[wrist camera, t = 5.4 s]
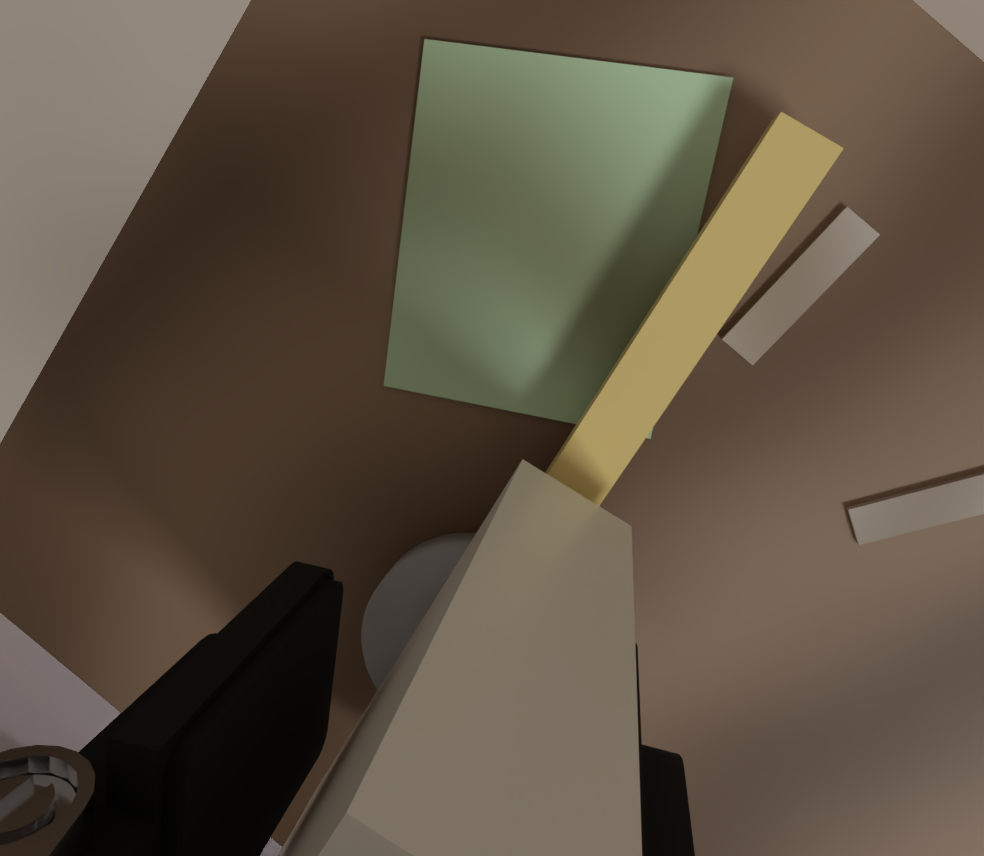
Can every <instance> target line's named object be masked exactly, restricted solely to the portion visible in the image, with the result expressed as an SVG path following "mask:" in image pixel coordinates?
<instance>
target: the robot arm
mask: <svg viewBox="0 0 984 856" xmlns="http://www.w3.org/2000/svg"><path fill="white" fill-rule="evenodd" d="M342 599H343V583H342V582H340V581H336V580H334V574H333V571H332V570H331V569H328V568H323V567H319V566H315V565H311V564H307V563H303V562H299V561H295V562H293V563H292V564H291V565H290V566H288V567H287V568H286V569H285V570H284V571H283V572H282V573H281V574H280V575H279V576H278V577H277V578H276V579H275V580H274V581H273V582H271V583H270V584H269V585H268V586H267V587H266V588H265V589H264V590H263V591H262V592H261V593H260V594H259V595H258V596H257V597H256V598H254V599H253V600H252V601H251V602H250V603H249V604H248V605H247V606H246V607H245V608H244V609H243V610H242V611H241V612H240V613H238V614H237V615H236V616H235V617H234V618H233V619H232V620H231V621H230V622H229V623H228V624H227V625H226V626H225V627H224V628H223V629H221V630H220V631H219V632H218V633H213V634H209V635H207V636H206V637H204V638H203V639H201V640H200V641H199V642H198V643H197V644H196V645H195V646H194V647H193V648H192V649H190V650H189V651H188V652H187V653H186V654H185V655H184V656H183V657H182V658H181V659H180V660H179V661H177V662H176V663H175V664H174V665H173V666H172V667H171V668H170V669H169V670H168V671H167V672H165V673H164V674H163V675H162V676H161V677H160V678H159V679H158V680H157V681H156V682H155V683H153V684H152V685H151V686H150V687H149V688H148V689H147V690H146V691H145V692H144V693H143V694H142V695H140V696H139V697H138V698H137V699H136V700H135V701H134V702H133V703H132V704H131V705H130V706H128V707H127V708H126V709H125V710H124V711H123V712H122V713H121V714H120V715H119V716H118V717H116V718H115V719H114V720H113V721H112V722H111V723H110V724H109V725H108V726H107V727H106V728H105V729H103V730H102V731H101V732H100V733H99V734H98V735H97V736H96V737H95V738H94V739H93V740H91V741H90V742H89V743H88V744H87V745H86V746H85V747H84V748H83V749H82V750H81V751H80V752H77V751H73V750H70V749H67V748H63V747H60V746H45V745H34V746H28V747H21V748H15V749H10V750H7V751H4V752H1V753H0V856H260V854H261V852H262V851H263V849H264V847H265V846H266V844H267V842H268V841H269V839H270V837H271V836H272V834H273V832H274V831H275V829H276V827H277V826H278V824H279V822H280V821H281V819H282V817H283V816H284V814H285V812H286V811H287V809H288V807H289V806H290V804H291V802H292V801H293V799H294V797H295V796H296V794H297V792H298V791H299V789H300V787H301V786H302V784H303V782H304V781H305V779H306V777H307V776H308V774H309V772H310V771H311V769H312V767H313V766H314V764H315V762H316V761H317V759H318V757H319V755H320V753H321V751H322V749H323V746H324V743H325V740H326V736H327V730H328V722H329V713H330V705H331V696H332V687H333V678H334V670H335V661H336V652H337V643H338V634H339V626H340V617H341V608H342ZM635 647H636V679H637V710H638V741H639V773H640V804H641V836H642V856H695V852H694V844H693V835H692V827H691V819H690V811H689V803H688V795H687V786H686V778H685V770H684V764H683V759H682V757H681V756H680V754H677V753H673V752H669V751H665V750H661V749H658V748H654V747H650V746H646V745H642V739H641V715H640V691H639V667H638V647H637V644H636V643H635Z"/></svg>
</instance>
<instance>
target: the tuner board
mask: <svg viewBox="0 0 984 856" xmlns="http://www.w3.org/2000/svg"><path fill="white" fill-rule="evenodd" d="M780 112H783V113H785V114H786V115H788V116H790V117H791V118H793V119H795V120H797V121H798V122H800V123H802V124H803V125H805V126H807V127H808V128H810V129H812V130H814V131H815V132H817V133H819V134H820V135H822V136H824V137H826V138H827V139H829V140H831V141H832V142H834V143H836V144H837V145H839V146H841V147H843V148H844V149H843V150H842V152H841V153H840V155H839V156H838V158H837V159H836V161H835V162H834V164H833V165H832V166H831V168H830V169H829V171H828V172H827V174H826V175H825V177H824V178H823V180H822V181H821V183H820V184H819V185H818V187H817V188H816V190H815V191H814V193H813V194H812V196H811V197H810V199H809V200H808V202H807V203H806V204H805V206H804V207H803V209H802V210H801V212H800V213H799V215H798V216H797V218H796V219H795V221H794V222H793V223H792V225H791V226H790V228H789V229H788V231H787V232H786V234H785V235H784V237H783V238H782V240H781V241H780V243H779V244H778V245H777V247H776V248H775V250H774V251H773V253H772V254H771V256H770V257H769V259H768V260H767V262H766V263H765V264H764V266H763V267H762V269H761V270H760V272H759V273H758V275H757V276H756V278H755V279H754V281H753V282H752V283H751V285H750V286H749V288H748V289H747V291H746V292H745V294H744V295H743V297H742V298H741V300H740V301H739V302H738V304H737V305H736V307H735V308H734V310H733V311H732V313H731V314H730V316H729V317H728V319H727V320H726V321H725V323H724V324H723V326H722V327H721V329H720V330H719V332H718V333H717V335H716V336H715V338H714V339H713V340H712V342H711V343H710V345H709V346H708V348H707V349H706V351H705V352H704V354H703V355H702V357H701V358H700V359H699V361H698V362H697V364H696V365H695V367H694V368H693V370H692V371H691V373H690V374H689V376H688V377H687V378H686V380H685V381H684V383H683V384H682V386H681V387H680V389H679V390H678V392H677V393H676V395H675V396H674V397H673V399H672V400H671V402H670V403H669V405H668V406H667V408H666V409H665V411H664V412H663V414H662V415H661V416H660V418H659V419H658V421H657V422H656V424H655V425H654V427H653V428H652V430H651V431H650V433H649V434H648V436H647V437H646V438H645V440H644V441H643V443H642V444H641V446H640V447H639V449H638V450H637V452H636V453H635V455H634V456H633V457H632V459H631V460H630V462H629V463H628V465H627V466H626V468H625V469H624V471H623V472H622V474H621V475H620V476H619V478H618V479H617V481H616V482H615V484H614V485H613V487H612V488H611V490H610V491H609V493H608V494H607V495H606V497H605V498H604V500H603V501H602V503H601V504H600V507H601V508H603V509H605V510H606V511H608V512H610V513H611V514H613V515H614V516H616V517H618V518H619V519H621V520H623V521H624V522H626V523H627V524H629V525H631V526H632V553H633V585H634V616H635V643H636V644H637V647H638V667H639V691H640V715H641V739H642V745H646V746H650V747H654V748H658V749H661V750H665V751H669V752H673V753H677V754H680V756H681V757H682V759H683V764H684V770H685V778H686V786H687V795H688V803H689V811H690V819H691V827H692V835H693V844H694V852H695V856H984V62H983V61H982V60H981V59H979V58H978V57H977V56H976V55H975V54H974V53H973V52H971V51H970V50H969V49H968V48H967V47H966V46H964V45H963V44H962V43H961V42H960V41H959V40H958V39H956V38H955V37H954V36H953V35H952V34H951V33H950V32H948V31H947V30H946V29H945V28H944V27H943V26H942V25H940V24H939V23H938V22H937V21H936V20H935V19H933V18H932V17H931V16H930V15H929V14H928V13H926V12H925V11H924V10H923V9H922V8H921V7H920V6H919V5H917V4H916V3H915V2H914V1H913V0H251V2H250V4H249V5H248V7H247V9H246V11H245V13H244V14H243V16H242V18H241V20H240V21H239V23H238V25H237V27H236V28H235V30H234V32H233V34H232V35H231V37H230V39H229V41H228V42H227V44H226V46H225V48H224V50H223V51H222V53H221V55H220V57H219V59H218V60H217V62H216V64H215V65H214V68H213V69H212V71H211V73H210V74H209V76H208V78H207V80H206V81H205V83H204V85H203V87H202V89H201V90H200V92H199V94H198V96H197V97H196V99H195V101H194V103H193V104H192V106H191V108H190V110H189V111H188V113H187V115H186V117H185V119H184V120H183V122H182V124H181V125H180V127H179V129H178V131H177V133H176V135H175V136H174V138H173V140H172V141H171V143H170V145H169V147H168V148H167V150H166V152H165V154H164V156H163V157H162V159H161V161H160V163H159V164H158V166H157V168H156V170H155V172H154V173H153V175H152V177H151V179H150V180H149V182H148V184H147V186H146V187H145V189H144V191H143V193H142V194H141V196H140V198H139V200H138V201H137V203H136V205H135V207H134V209H133V210H132V212H131V214H130V216H129V217H128V219H127V221H126V223H125V224H124V226H123V228H122V230H121V232H120V234H119V235H118V237H117V239H116V240H115V242H114V244H113V246H112V248H111V249H110V251H109V253H108V255H107V256H106V258H105V260H104V262H103V263H102V265H101V267H100V269H99V270H98V272H97V274H96V276H95V277H94V279H93V281H92V283H91V284H90V286H89V288H88V290H87V292H86V293H85V295H84V297H83V299H82V300H81V302H80V304H79V306H78V307H77V309H76V311H75V313H74V315H73V316H72V318H71V320H70V322H69V323H68V325H67V327H66V329H65V331H64V332H63V334H62V336H61V338H60V339H59V341H58V343H57V345H56V346H55V348H54V350H53V352H52V353H51V355H50V357H49V359H48V360H47V362H46V364H45V366H44V368H43V369H42V371H41V373H40V375H39V377H38V378H37V380H36V382H35V383H34V385H33V387H32V389H31V390H30V392H29V394H28V396H27V398H26V399H25V401H24V403H23V405H22V406H21V408H20V410H19V412H18V413H17V415H16V417H15V419H14V421H13V423H12V424H11V426H10V428H9V429H8V431H7V433H6V435H5V436H4V438H3V440H2V442H1V444H0V613H2V614H3V615H4V616H5V617H6V618H8V619H9V620H10V621H11V622H12V623H14V624H15V625H16V626H17V627H18V628H20V629H21V630H22V631H23V632H25V633H26V634H27V635H28V636H29V637H31V638H32V639H33V640H34V641H35V642H37V643H38V644H39V645H40V646H41V647H43V648H44V649H45V650H46V651H47V652H49V653H50V654H51V655H52V656H53V657H55V658H56V659H57V660H58V661H59V662H61V663H62V664H63V665H64V666H65V667H67V668H68V669H69V670H70V671H71V672H73V673H74V674H75V675H76V676H78V677H79V678H80V679H81V680H82V681H84V682H85V683H86V684H87V685H88V686H90V687H91V688H92V689H93V690H94V691H96V692H97V693H98V694H99V695H100V696H102V697H103V698H104V699H105V700H106V701H108V702H109V703H110V704H111V705H112V706H114V707H115V708H116V709H117V710H118V711H120V712H121V713H122V712H123V711H124V710H125V709H126V708H127V707H128V706H130V705H131V704H132V703H133V702H134V701H135V700H136V699H137V698H138V697H139V696H140V695H142V694H143V693H144V692H145V691H146V690H147V689H148V688H149V687H150V686H151V685H152V684H153V683H155V682H156V681H157V680H158V679H159V678H160V677H161V676H162V675H163V674H164V673H165V672H167V671H168V670H169V669H170V668H171V667H172V666H173V665H174V664H175V663H176V662H177V661H179V660H180V659H181V658H182V657H183V656H184V655H185V654H186V653H187V652H188V651H189V650H190V649H192V648H193V647H194V646H195V645H196V644H197V643H198V642H199V641H200V640H201V639H203V638H204V637H206V636H207V635H209V634H213V633H218V632H219V631H220V630H221V629H223V628H224V627H225V626H226V625H227V624H228V623H229V622H230V621H231V620H232V619H233V618H234V617H235V616H236V615H237V614H238V613H240V612H241V611H242V610H243V609H244V608H245V607H246V606H247V605H248V604H249V603H250V602H251V601H252V600H253V599H254V598H256V597H257V596H258V595H259V594H260V593H261V592H262V591H263V590H264V589H265V588H266V587H267V586H268V585H269V584H270V583H271V582H273V581H274V580H275V579H276V578H277V577H278V576H279V575H280V574H281V573H282V572H283V571H284V570H285V569H286V568H287V567H288V566H290V565H291V564H292V563H293V562H295V561H299V562H303V563H307V564H311V565H315V566H319V567H323V568H328V569H331V570H332V571H333V574H334V580H336V581H340V582H342V583H343V599H342V608H341V617H340V626H339V634H338V643H337V652H336V661H335V670H334V678H333V687H332V696H331V705H330V713H329V722H328V730H327V736H326V740H325V743H324V746H323V749H322V751H321V753H320V755H319V757H318V759H317V761H316V762H315V764H314V766H313V767H312V769H311V771H310V772H309V774H308V776H307V777H306V779H305V781H304V782H303V784H302V786H301V787H300V789H299V791H298V792H297V794H296V796H295V797H294V799H293V801H292V802H291V804H290V806H289V807H288V809H287V811H286V812H285V814H284V816H283V817H282V819H281V821H280V822H279V824H278V826H277V827H276V829H275V831H274V832H273V834H272V836H271V838H273V839H274V840H275V841H276V842H277V843H279V844H280V845H281V846H282V847H283V846H284V844H285V842H286V841H287V839H288V837H289V835H290V834H291V832H292V830H293V829H294V827H295V825H296V823H297V822H298V820H299V818H300V816H301V815H302V813H303V811H304V809H305V808H306V806H307V804H308V803H309V801H310V799H311V797H312V796H313V794H314V792H315V790H316V789H317V787H318V785H319V784H320V782H321V781H322V779H323V777H324V776H325V774H326V773H327V771H328V769H329V768H330V766H331V765H332V763H333V761H334V760H335V758H336V757H337V755H338V753H339V752H340V750H341V749H342V747H343V745H344V744H345V742H346V741H347V739H348V737H349V736H350V734H351V733H352V731H353V729H354V728H355V726H356V725H357V723H358V721H359V720H360V718H361V717H362V715H363V713H364V712H365V710H366V709H367V707H368V705H369V704H370V702H371V701H372V699H373V697H374V696H375V694H376V693H377V691H378V690H377V689H376V687H375V685H374V683H373V681H372V679H371V677H370V675H369V672H368V670H367V667H366V664H365V660H364V656H363V651H362V643H361V630H362V623H363V617H364V613H365V610H366V607H367V604H368V602H369V600H370V598H371V596H372V594H373V592H374V591H375V590H376V588H377V587H378V585H379V584H380V582H381V581H382V580H383V578H384V577H385V576H386V574H387V573H388V572H389V570H390V569H391V568H392V566H393V565H394V564H395V563H396V562H397V561H398V560H399V559H400V558H401V556H403V555H404V554H405V553H406V552H408V551H409V550H410V549H412V548H413V547H415V546H417V545H418V544H420V543H422V542H424V541H427V540H429V539H432V538H434V537H438V536H442V535H446V534H453V533H477V531H478V530H479V528H480V526H481V525H482V523H483V522H484V520H485V518H486V517H487V515H488V514H489V512H490V510H491V509H492V507H493V506H494V504H495V502H496V501H497V499H498V498H499V496H500V494H501V493H502V491H503V490H504V488H505V486H506V485H507V483H508V482H509V480H510V478H511V477H512V475H513V474H514V472H515V470H516V469H517V467H518V466H519V464H520V462H521V461H522V459H523V460H525V461H526V462H528V463H530V464H531V465H533V466H535V467H536V468H538V469H539V470H541V471H543V472H544V473H545V472H546V471H547V469H548V468H549V466H550V464H551V463H552V461H553V460H554V458H555V457H556V455H557V454H558V452H559V450H560V449H561V447H562V446H563V444H564V443H565V441H566V440H567V438H568V436H569V435H570V433H571V432H572V430H573V429H574V427H575V426H576V424H577V422H578V421H579V419H580V418H581V416H582V415H583V413H584V412H585V410H586V408H587V407H588V405H589V404H590V402H591V401H592V399H593V398H594V396H595V394H596V393H597V391H598V390H599V388H600V387H601V385H602V384H603V382H604V380H605V379H606V377H607V376H608V374H609V373H610V371H611V370H612V368H613V366H614V365H615V363H616V362H617V360H618V359H619V357H620V355H621V354H622V352H623V351H624V349H625V348H626V346H627V345H628V343H629V341H630V340H631V338H632V337H633V335H634V334H635V332H636V331H637V329H638V327H639V326H640V324H641V323H642V321H643V320H644V318H645V317H646V315H647V313H648V312H649V310H650V309H651V307H652V306H653V304H654V303H655V301H656V299H657V298H658V296H659V295H660V293H661V292H662V290H663V289H664V287H665V285H666V284H667V282H668V281H669V279H670V278H671V276H672V275H673V273H674V271H675V270H676V268H677V267H678V265H679V264H680V262H681V261H682V259H683V257H684V256H685V254H686V253H687V251H688V250H689V248H690V247H691V245H692V243H693V242H694V240H695V239H696V237H697V236H698V234H699V233H700V231H701V229H702V228H703V226H704V225H705V223H706V222H707V220H708V219H709V217H710V215H711V214H712V212H713V211H714V209H715V208H716V206H717V205H718V203H719V201H720V200H721V198H722V197H723V195H724V194H725V192H726V190H727V189H728V187H729V186H730V184H731V183H732V181H733V180H734V178H735V176H736V175H737V173H738V172H739V170H740V169H741V167H742V166H743V164H744V162H745V161H746V159H747V158H748V156H749V155H750V153H751V152H752V150H753V148H754V147H755V145H756V144H757V142H758V141H759V139H760V138H761V136H762V134H763V133H764V131H765V130H766V128H767V127H768V125H769V124H770V122H771V121H772V120H773V119H774V118H775V117H776V116H777V115H778V114H779V113H780Z"/></svg>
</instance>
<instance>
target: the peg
mask: <svg viewBox="0 0 984 856" xmlns="http://www.w3.org/2000/svg"><path fill="white" fill-rule="evenodd" d="M843 149H844V148H843V147H841V146H839V145H837V144H836V143H834V142H832V141H831V140H829V139H827V138H826V137H824V136H822V135H820V134H819V133H817V132H815V131H814V130H812V129H810V128H808V127H807V126H805V125H803V124H802V123H800V122H798V121H797V120H795V119H793V118H791V117H790V116H788V115H786V114H785V113H783V112H780V113H779V114H778V115H777V116H776V117H775V118H774V119H773V120H772V121H771V122H770V124H769V125H768V127H767V128H766V130H765V131H764V133H763V134H762V136H761V138H760V139H759V141H758V142H757V144H756V145H755V147H754V148H753V150H752V152H751V153H750V155H749V156H748V158H747V159H746V161H745V162H744V164H743V166H742V167H741V169H740V170H739V172H738V173H737V175H736V176H735V178H734V180H733V181H732V183H731V184H730V186H729V187H728V189H727V190H726V192H725V194H724V195H723V197H722V198H721V200H720V201H719V203H718V205H717V206H716V208H715V209H714V211H713V212H712V214H711V215H710V217H709V219H708V220H707V222H706V223H705V225H704V226H703V228H702V229H701V231H700V233H699V234H698V236H697V237H696V239H695V240H694V242H693V243H692V245H691V247H690V248H689V250H688V251H687V253H686V254H685V256H684V257H683V259H682V261H681V262H680V264H679V265H678V267H677V268H676V270H675V271H674V273H673V275H672V276H671V278H670V279H669V281H668V282H667V284H666V285H665V287H664V289H663V290H662V292H661V293H660V295H659V296H658V298H657V299H656V301H655V303H654V304H653V306H652V307H651V309H650V310H649V312H648V313H647V315H646V317H645V318H644V320H643V321H642V323H641V324H640V326H639V327H638V329H637V331H636V332H635V334H634V335H633V337H632V338H631V340H630V341H629V343H628V345H627V346H626V348H625V349H624V351H623V352H622V354H621V355H620V357H619V359H618V360H617V362H616V363H615V365H614V366H613V368H612V370H611V371H610V373H609V374H608V376H607V377H606V379H605V380H604V382H603V384H602V385H601V387H600V388H599V390H598V391H597V393H596V394H595V396H594V398H593V399H592V401H591V402H590V404H589V405H588V407H587V408H586V410H585V412H584V413H583V415H582V416H581V418H580V419H579V421H578V422H577V424H576V426H575V427H574V429H573V430H572V432H571V433H570V435H569V436H568V438H567V440H566V441H565V443H564V444H563V446H562V447H561V449H560V450H559V452H558V454H557V455H556V457H555V458H554V460H553V461H552V463H551V464H550V466H549V468H548V469H547V471H546V472H545V473H544V472H543V471H541V470H539V469H538V468H536V467H535V466H533V465H531V464H530V463H528V462H526V461H525V460H523V459H522V461H521V462H520V464H519V466H518V467H517V469H516V470H515V472H514V474H513V475H512V477H511V478H510V480H509V482H508V483H507V485H506V486H505V488H504V490H503V491H502V493H501V494H500V496H499V498H498V499H497V501H496V502H495V504H494V506H493V507H492V509H491V510H490V512H489V514H488V515H487V517H486V518H485V520H484V522H483V523H482V525H481V526H480V528H479V530H478V531H477V533H453V534H446V535H442V536H438V537H434V538H432V539H429V540H427V541H424V542H422V543H420V544H418V545H417V546H415V547H413V548H412V549H410V550H409V551H408V552H406V553H405V554H404V555H403V556H401V558H400V559H399V560H398V561H397V562H396V563H395V564H394V565H393V566H392V568H391V569H390V570H389V572H388V573H387V574H386V576H385V577H384V578H383V580H382V581H381V582H380V584H379V585H378V587H377V588H376V590H375V591H374V592H373V594H372V596H371V598H370V600H369V602H368V604H367V607H366V610H365V613H364V617H363V623H362V630H361V643H362V651H363V656H364V660H365V664H366V667H367V670H368V672H369V675H370V677H371V679H372V681H373V683H374V685H375V687H376V689H377V690H378V691H377V693H376V694H375V696H374V697H373V699H372V701H371V702H370V704H369V705H368V707H367V709H366V710H365V712H364V713H363V715H362V717H361V718H360V720H359V721H358V723H357V725H356V726H355V728H354V729H353V731H352V733H351V734H350V736H349V737H348V739H347V741H346V742H345V744H344V745H343V747H342V749H341V750H340V752H339V753H338V755H337V757H336V758H335V760H334V761H333V763H332V765H331V766H330V768H329V769H328V771H327V773H326V774H325V776H324V777H323V779H322V781H321V782H320V784H319V785H318V787H317V789H316V790H315V792H314V794H313V796H312V797H311V799H310V801H309V803H308V804H307V806H306V808H305V809H304V811H303V813H302V815H301V816H300V818H299V820H298V822H297V823H296V825H295V827H294V829H293V830H292V832H291V834H290V835H289V837H288V839H287V841H286V842H285V844H284V846H283V848H282V849H281V851H280V853H279V855H278V856H642V836H641V804H640V773H639V741H638V710H637V679H636V647H635V616H634V585H633V553H632V526H631V525H629V524H627V523H626V522H624V521H623V520H621V519H619V518H618V517H616V516H614V515H613V514H611V513H610V512H608V511H606V510H605V509H603V508H601V507H600V504H601V503H602V501H603V500H604V498H605V497H606V495H607V494H608V493H609V491H610V490H611V488H612V487H613V485H614V484H615V482H616V481H617V479H618V478H619V476H620V475H621V474H622V472H623V471H624V469H625V468H626V466H627V465H628V463H629V462H630V460H631V459H632V457H633V456H634V455H635V453H636V452H637V450H638V449H639V447H640V446H641V444H642V443H643V441H644V440H645V438H646V437H647V436H648V434H649V433H650V431H651V430H652V428H653V427H654V425H655V424H656V422H657V421H658V419H659V418H660V416H661V415H662V414H663V412H664V411H665V409H666V408H667V406H668V405H669V403H670V402H671V400H672V399H673V397H674V396H675V395H676V393H677V392H678V390H679V389H680V387H681V386H682V384H683V383H684V381H685V380H686V378H687V377H688V376H689V374H690V373H691V371H692V370H693V368H694V367H695V365H696V364H697V362H698V361H699V359H700V358H701V357H702V355H703V354H704V352H705V351H706V349H707V348H708V346H709V345H710V343H711V342H712V340H713V339H714V338H715V336H716V335H717V333H718V332H719V330H720V329H721V327H722V326H723V324H724V323H725V321H726V320H727V319H728V317H729V316H730V314H731V313H732V311H733V310H734V308H735V307H736V305H737V304H738V302H739V301H740V300H741V298H742V297H743V295H744V294H745V292H746V291H747V289H748V288H749V286H750V285H751V283H752V282H753V281H754V279H755V278H756V276H757V275H758V273H759V272H760V270H761V269H762V267H763V266H764V264H765V263H766V262H767V260H768V259H769V257H770V256H771V254H772V253H773V251H774V250H775V248H776V247H777V245H778V244H779V243H780V241H781V240H782V238H783V237H784V235H785V234H786V232H787V231H788V229H789V228H790V226H791V225H792V223H793V222H794V221H795V219H796V218H797V216H798V215H799V213H800V212H801V210H802V209H803V207H804V206H805V204H806V203H807V202H808V200H809V199H810V197H811V196H812V194H813V193H814V191H815V190H816V188H817V187H818V185H819V184H820V183H821V181H822V180H823V178H824V177H825V175H826V174H827V172H828V171H829V169H830V168H831V166H832V165H833V164H834V162H835V161H836V159H837V158H838V156H839V155H840V153H841V152H842V150H843Z"/></svg>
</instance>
